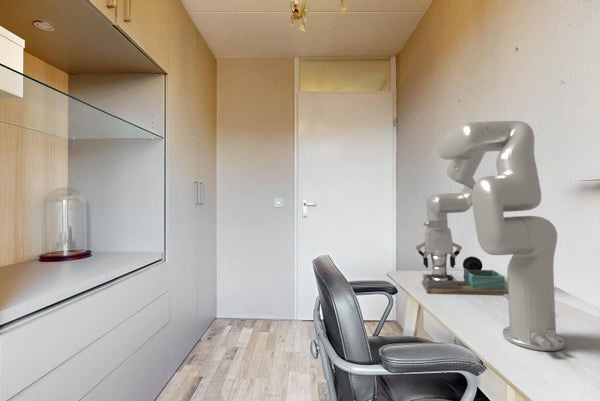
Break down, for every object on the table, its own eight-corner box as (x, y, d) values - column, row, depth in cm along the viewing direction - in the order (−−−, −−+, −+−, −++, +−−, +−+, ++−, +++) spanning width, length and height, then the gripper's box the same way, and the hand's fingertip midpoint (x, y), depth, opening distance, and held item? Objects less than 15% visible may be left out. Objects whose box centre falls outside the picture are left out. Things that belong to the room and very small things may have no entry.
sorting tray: (508, 295, 114) (507, 277, 114) (427, 293, 121) (426, 276, 121) (494, 285, 128) (493, 269, 128) (421, 283, 134) (421, 268, 134)
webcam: (465, 280, 136) (464, 258, 136) (461, 276, 143) (460, 254, 144) (485, 281, 134) (484, 258, 134) (480, 277, 141) (479, 255, 141)
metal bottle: (450, 287, 127) (447, 238, 127) (447, 292, 122) (445, 240, 122) (433, 285, 131) (431, 238, 131) (430, 290, 125) (428, 240, 125)
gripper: (416, 226, 124) (418, 269, 124) (463, 225, 121) (465, 269, 120) (413, 224, 132) (415, 265, 132) (458, 223, 128) (459, 265, 128)
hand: (439, 267), depth 126 cm, fingers open, 9 cm apart
